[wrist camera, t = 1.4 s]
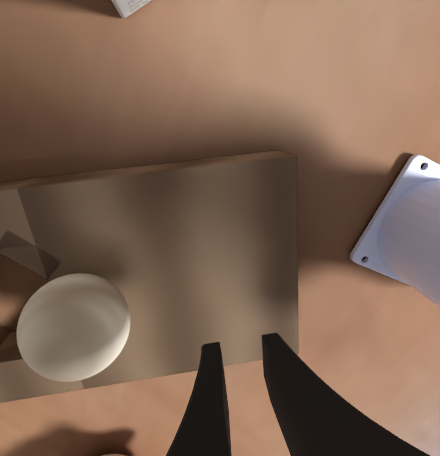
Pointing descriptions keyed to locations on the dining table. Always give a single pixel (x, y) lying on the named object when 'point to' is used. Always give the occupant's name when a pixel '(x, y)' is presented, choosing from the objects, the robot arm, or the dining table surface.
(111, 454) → the cat figurine
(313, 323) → the dining table surface
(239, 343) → the walnut board
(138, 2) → the supplement box
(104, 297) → the off-white ball
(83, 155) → the dining table surface
